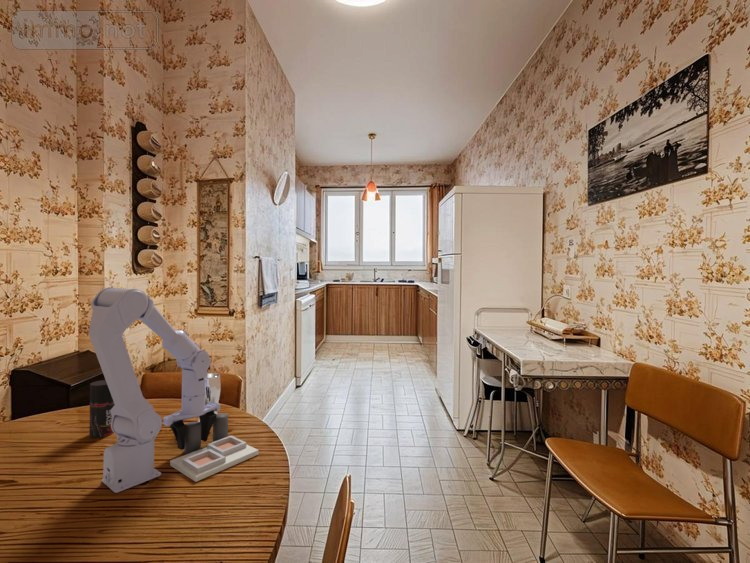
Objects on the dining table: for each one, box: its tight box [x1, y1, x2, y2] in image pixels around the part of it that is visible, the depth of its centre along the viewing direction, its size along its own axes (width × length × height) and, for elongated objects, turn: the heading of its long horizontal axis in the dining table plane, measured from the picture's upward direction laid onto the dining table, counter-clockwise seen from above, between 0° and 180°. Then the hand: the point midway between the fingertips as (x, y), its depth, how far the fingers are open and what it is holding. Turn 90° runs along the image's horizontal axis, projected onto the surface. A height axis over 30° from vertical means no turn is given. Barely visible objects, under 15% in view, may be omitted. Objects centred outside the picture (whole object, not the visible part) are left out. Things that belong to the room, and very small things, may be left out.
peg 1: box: [183, 421, 202, 455], centre depth 101 cm, size 4×4×7 cm
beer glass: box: [197, 372, 221, 422], centre depth 120 cm, size 7×7×15 cm
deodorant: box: [88, 379, 115, 439], centre depth 109 cm, size 6×6×15 cm
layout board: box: [169, 435, 260, 483], centre depth 96 cm, size 17×12×2 cm
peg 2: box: [212, 412, 229, 442], centre depth 107 cm, size 4×4×7 cm
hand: (192, 444), depth 101 cm, fingers open, 6 cm apart
